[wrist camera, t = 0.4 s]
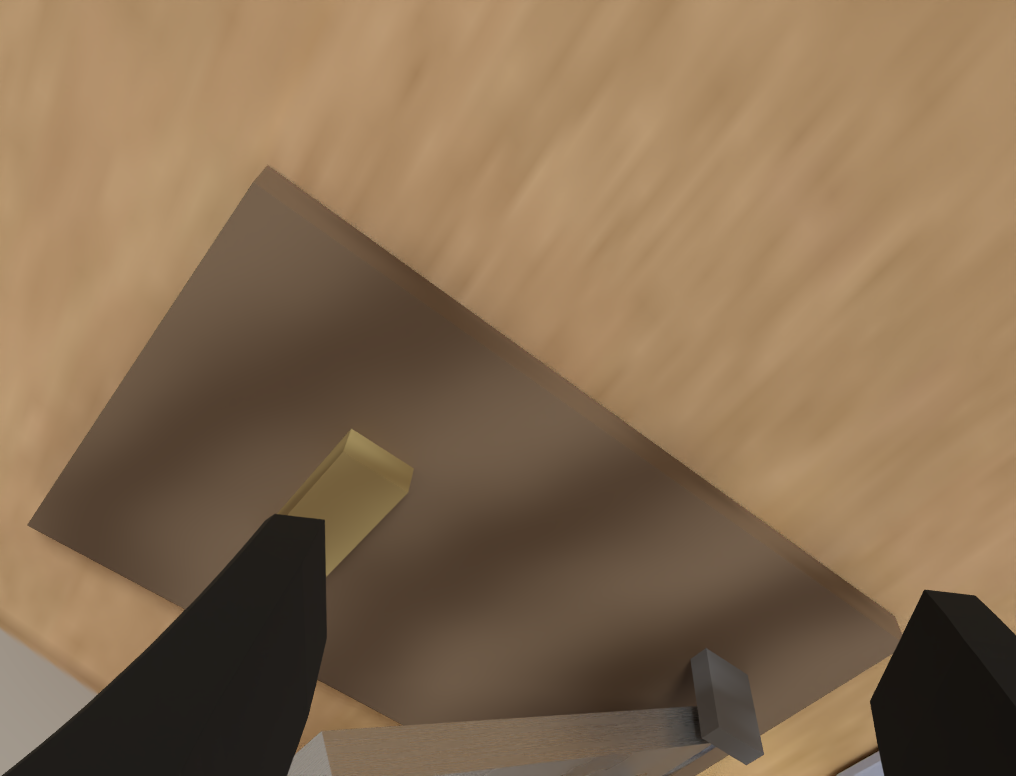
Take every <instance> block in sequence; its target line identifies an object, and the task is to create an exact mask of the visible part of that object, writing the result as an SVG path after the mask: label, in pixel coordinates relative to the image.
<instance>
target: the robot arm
mask: <svg viewBox="0 0 1016 776" xmlns="http://www.w3.org/2000/svg"><path fill="white" fill-rule="evenodd" d="M326 640H327V610H326V552H325V520H324V519H315V518H307V517H298V516H289V515H281V514H274V515H272V516H271V517H269V518H268V519H266V520H265V521H264V522H263V524H262V525H261V526H260V527H259V528H258V530H257V531H256V532H255V533H254V534H253V536H252V537H251V538H250V539H249V540H248V541H247V543H246V544H245V545H244V546H243V547H242V548H241V550H240V551H239V552H238V553H237V554H236V555H235V556H234V558H233V559H232V560H231V561H230V562H229V563H228V564H227V565H226V567H225V568H224V569H223V570H222V571H221V572H220V573H219V574H218V575H217V576H216V578H215V579H214V580H213V581H212V582H211V583H210V584H209V585H208V586H207V587H206V588H205V590H204V591H203V592H202V593H201V594H200V595H199V596H198V597H197V598H196V599H195V600H194V601H193V602H192V603H191V604H190V605H189V606H188V607H187V608H186V609H185V610H184V611H183V612H182V614H181V615H180V616H179V617H178V618H177V619H176V620H175V621H174V622H173V623H172V624H171V625H170V626H169V627H168V628H167V629H166V630H165V631H164V632H163V633H162V634H161V635H160V636H159V637H158V638H157V639H156V640H155V641H154V642H153V643H152V644H151V645H150V646H149V647H148V648H147V649H146V650H145V651H144V652H143V653H142V654H141V655H140V656H139V657H138V658H137V659H135V660H134V661H133V662H132V663H131V664H130V665H129V666H128V667H127V668H126V669H125V670H124V671H123V672H122V673H120V674H119V675H118V676H117V677H116V678H115V679H114V680H113V681H112V682H111V683H110V684H109V685H108V686H106V687H105V688H104V689H103V690H102V691H101V692H100V693H99V694H98V695H97V696H96V697H95V698H94V699H93V700H91V701H90V702H89V703H88V704H87V705H86V706H85V707H84V708H83V709H81V710H80V711H79V712H78V713H77V714H76V715H75V716H73V717H72V718H71V719H70V720H69V721H68V722H66V723H65V724H64V725H63V726H62V727H61V728H59V729H58V730H57V731H56V732H55V733H54V734H52V735H51V736H50V737H49V738H48V739H46V740H45V741H44V742H43V743H42V744H41V745H39V746H38V747H37V748H36V749H34V750H33V751H32V752H31V753H29V754H28V755H27V756H26V757H24V758H23V759H22V760H21V761H19V762H18V763H17V764H16V765H15V766H13V767H12V768H11V769H9V770H8V771H7V772H6V773H5V774H3V775H2V776H287V775H288V772H289V769H290V766H291V764H292V761H293V758H294V755H295V752H296V750H297V747H298V744H299V741H300V738H301V736H302V733H303V730H304V727H305V724H306V721H307V718H308V715H309V711H310V707H311V703H312V699H313V695H314V691H315V687H316V683H317V678H318V674H319V670H320V666H321V661H322V657H323V653H324V648H325V644H326ZM870 704H871V710H872V715H873V721H874V727H875V732H876V738H877V744H878V749H879V751H878V752H876V753H874V754H872V755H870V756H869V757H867V758H865V759H863V760H862V761H860V762H858V763H856V764H854V765H853V766H851V767H849V768H847V769H846V770H844V771H842V772H840V773H839V774H837V775H836V776H1016V635H1015V634H1014V633H1013V632H1012V631H1011V630H1010V629H1009V628H1008V627H1007V626H1006V625H1005V624H1004V623H1003V622H1002V621H1001V620H1000V619H999V618H998V617H997V616H996V615H995V614H994V613H993V612H992V611H991V610H990V609H989V608H988V607H987V606H986V605H985V604H984V603H983V602H982V601H981V600H979V599H978V598H977V597H976V596H974V595H966V594H957V593H949V592H940V591H932V590H924V591H923V593H922V596H921V598H920V600H919V602H918V604H917V606H916V608H915V610H914V612H913V614H912V616H911V618H910V620H909V622H908V624H907V626H906V628H905V630H904V633H903V635H902V637H901V639H900V641H899V643H898V645H897V647H896V649H895V651H894V653H893V655H892V657H891V659H890V661H889V663H888V665H887V667H886V670H885V672H884V674H883V676H882V678H881V680H880V682H879V684H878V686H877V688H876V690H875V692H874V694H873V696H872V698H871V700H870Z"/></svg>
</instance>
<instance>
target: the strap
mask: <svg viewBox="0 0 1016 776" xmlns="http://www.w3.org/2000/svg"><path fill="white" fill-rule="evenodd" d="M714 748H716V747H715V746H714V745H712V744H710V743H709V742H707V741H705V740H704V739H702V738H701V731H700V723H699V716H698V709H697V706H691V707H676V708H661V709H646V710H631V711H616V712H601V713H586V714H571V715H556V716H541V717H526V718H511V719H496V720H481V721H465V722H450V723H435V724H420V725H405V726H390V727H375V728H360V729H345V730H330V731H321V732H320V733H319V734H318V735H317V736H316V737H314V738H313V739H312V740H311V741H310V742H309V743H308V744H307V745H305V746H304V747H303V748H302V749H301V750H300V751H299V752H297V753H296V754H295V755H294V758H293V761H292V764H291V766H290V769H289V772H288V775H287V776H671V775H673V774H674V773H676V772H678V771H679V770H681V769H682V768H684V767H686V766H687V765H689V764H690V763H692V762H693V761H695V760H697V759H698V758H700V757H701V756H703V755H705V754H706V753H708V752H709V751H711V750H713V749H714Z"/></svg>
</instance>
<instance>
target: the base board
mask: <svg viewBox="0 0 1016 776" xmlns="http://www.w3.org/2000/svg"><path fill="white" fill-rule="evenodd" d="M274 514H281V515H289V516H298V517H307V518H315V519H324V520H325V552H326V610H327V640H326V644H325V648H324V653H323V657H322V661H321V666H320V670H319V674H318V678H317V680H319V681H321V682H323V683H325V684H327V685H329V686H330V687H332V688H334V689H336V690H338V691H340V692H342V693H344V694H345V695H347V696H349V697H351V698H353V699H355V700H357V701H359V702H360V703H362V704H364V705H366V706H368V707H370V708H372V709H374V710H376V711H377V712H379V713H381V714H383V715H385V716H387V717H389V718H391V719H392V720H394V721H396V722H398V723H400V724H402V725H404V726H405V725H420V724H435V723H450V722H465V721H481V720H496V719H511V718H526V717H541V716H556V715H571V714H586V713H601V712H616V711H631V710H646V709H661V708H676V707H691V706H697V709H698V716H699V723H700V731H701V738H702V739H704V740H705V741H707V742H709V743H710V744H712V745H714V746H715V747H716V748H714V749H713V750H711V751H709V752H708V753H706V754H705V755H703V756H701V757H700V758H698V759H697V760H695V761H693V762H692V763H690V764H689V765H687V766H686V767H684V768H682V769H681V770H679V771H678V772H676V773H674V774H673V775H671V776H696V775H697V774H699V773H701V772H702V771H704V770H705V769H707V768H709V767H710V766H712V765H713V764H715V763H717V762H718V761H720V760H722V759H723V758H725V757H726V756H728V755H730V756H732V757H734V758H735V759H737V760H739V761H740V762H742V763H744V764H745V765H748V764H749V763H751V762H752V761H754V760H756V759H757V758H759V757H761V756H762V755H764V752H763V747H762V742H761V737H760V735H762V734H764V733H765V732H767V731H768V730H770V729H772V728H773V727H775V726H776V725H778V724H780V723H781V722H783V721H785V720H786V719H788V718H789V717H791V716H793V715H794V714H796V713H797V712H799V711H801V710H802V709H804V708H806V707H807V706H809V705H810V704H812V703H814V702H815V701H817V700H818V699H820V698H822V697H823V696H825V695H827V694H828V693H830V692H831V691H833V690H835V689H836V688H838V687H839V686H841V685H843V684H844V683H846V682H848V681H849V680H851V679H852V678H854V677H856V676H857V675H859V674H860V673H862V672H864V671H865V670H867V669H869V668H870V667H872V666H873V665H875V664H877V663H878V662H880V661H881V660H883V659H885V658H886V657H888V656H890V655H891V654H893V653H894V651H895V649H896V647H897V645H898V643H899V641H900V639H901V637H902V633H901V631H900V628H899V626H898V623H897V621H896V618H895V616H893V615H892V614H890V613H889V612H888V611H886V610H885V609H884V608H882V607H881V606H879V605H878V604H877V603H875V602H874V601H872V600H871V599H870V598H868V597H867V596H865V595H864V594H863V593H861V592H860V591H858V590H857V589H856V588H854V587H853V586H852V585H850V584H849V583H847V582H846V581H845V580H843V579H842V578H840V577H839V576H838V575H836V574H835V573H833V572H832V571H831V570H829V569H828V568H827V567H825V566H824V565H822V564H821V563H820V562H818V561H817V560H815V559H814V558H813V557H811V556H810V555H808V554H807V553H806V552H804V551H803V550H802V549H800V548H799V547H797V546H796V545H795V544H793V543H792V542H790V541H789V540H788V539H786V538H785V537H783V536H782V535H781V534H779V533H778V532H776V531H775V530H774V529H772V528H771V527H770V526H768V525H767V524H765V523H764V522H763V521H761V520H760V519H758V518H757V517H756V516H754V515H753V514H751V513H750V512H749V511H747V510H746V509H745V508H743V507H742V506H740V505H739V504H738V503H736V502H735V501H733V500H732V499H731V498H729V497H728V496H726V495H725V494H724V493H722V492H721V491H719V490H718V489H717V488H715V487H714V486H713V485H711V484H710V483H708V482H707V481H706V480H704V479H703V478H701V477H700V476H699V475H697V474H696V473H694V472H693V471H692V470H690V469H689V468H688V467H686V466H685V465H683V464H682V463H681V462H679V461H678V460H676V459H675V458H674V457H672V456H671V455H669V454H668V453H667V452H665V451H664V450H662V449H661V448H660V447H658V446H657V445H656V444H654V443H653V442H651V441H650V440H649V439H647V438H646V437H644V436H643V435H642V434H640V433H639V432H637V431H636V430H635V429H633V428H632V427H631V426H629V425H628V424H626V423H625V422H624V421H622V420H621V419H619V418H618V417H617V416H615V415H614V414H612V413H611V412H610V411H608V410H607V409H605V408H604V407H603V406H601V405H600V404H599V403H597V402H596V401H594V400H593V399H592V398H590V397H589V396H587V395H586V394H585V393H583V392H582V391H580V390H579V389H578V388H576V387H575V386H574V385H572V384H571V383H569V382H568V381H567V380H565V379H564V378H562V377H561V376H560V375H558V374H557V373H555V372H554V371H553V370H551V369H550V368H549V367H547V366H546V365H544V364H543V363H542V362H540V361H539V360H537V359H536V358H535V357H533V356H532V355H530V354H529V353H528V352H526V351H525V350H523V349H522V348H521V347H519V346H518V345H517V344H515V343H514V342H512V341H511V340H510V339H508V338H507V337H505V336H504V335H503V334H501V333H500V332H498V331H497V330H496V329H494V328H493V327H492V326H490V325H489V324H487V323H486V322H485V321H483V320H482V319H480V318H479V317H478V316H476V315H475V314H473V313H472V312H471V311H469V310H468V309H466V308H465V307H464V306H462V305H461V304H460V303H458V302H457V301H455V300H454V299H453V298H451V297H450V296H448V295H447V294H446V293H444V292H443V291H441V290H440V289H439V288H437V287H436V286H435V285H433V284H432V283H430V282H429V281H428V280H426V279H425V278H423V277H422V276H421V275H419V274H418V273H416V272H415V271H414V270H412V269H411V268H409V267H408V266H407V265H405V264H404V263H403V262H401V261H400V260H398V259H397V258H396V257H394V256H393V255H391V254H390V253H389V252H387V251H386V250H384V249H383V248H382V247H380V246H379V245H378V244H376V243H375V242H373V241H372V240H371V239H369V238H368V237H366V236H365V235H364V234H362V233H361V232H359V231H358V230H357V229H355V228H354V227H352V226H351V225H350V224H348V223H347V222H346V221H344V220H343V219H341V218H340V217H339V216H337V215H336V214H334V213H333V212H332V211H330V210H329V209H327V208H326V207H325V206H323V205H322V204H321V203H319V202H318V201H316V200H315V199H314V198H312V197H311V196H309V195H308V194H307V193H305V192H304V191H302V190H301V189H300V188H298V187H297V186H296V185H294V184H293V183H291V182H290V181H289V180H287V179H286V178H284V177H283V176H282V175H280V174H279V173H277V172H276V171H275V170H273V169H272V168H270V167H269V166H268V165H267V167H266V168H265V169H264V170H263V171H262V172H261V174H260V175H259V176H258V177H257V178H256V180H255V181H254V182H253V183H252V185H251V186H250V188H249V189H248V191H247V192H246V194H245V195H244V197H243V198H242V200H241V202H240V203H239V205H238V206H237V208H236V209H235V211H234V212H233V214H232V215H231V217H230V218H229V220H228V221H227V223H226V224H225V226H224V227H223V229H222V230H221V232H220V233H219V235H218V236H217V238H216V239H215V241H214V242H213V244H212V246H211V247H210V249H209V250H208V252H207V253H206V255H205V256H204V258H203V259H202V261H201V262H200V264H199V265H198V267H197V268H196V270H195V271H194V273H193V274H192V276H191V277H190V279H189V280H188V282H187V283H186V285H185V286H184V288H183V290H182V291H181V293H180V294H179V296H178V297H177V299H176V300H175V302H174V303H173V305H172V306H171V308H170V309H169V311H168V312H167V314H166V315H165V317H164V318H163V320H162V321H161V323H160V324H159V326H158V327H157V329H156V330H155V332H154V333H153V335H152V337H151V338H150V340H149V341H148V343H147V344H146V346H145V347H144V349H143V350H142V352H141V353H140V355H139V356H138V358H137V359H136V361H135V362H134V364H133V365H132V367H131V368H130V370H129V371H128V373H127V374H126V376H125V377H124V379H123V381H122V382H121V384H120V385H119V387H118V388H117V390H116V391H115V393H114V394H113V396H112V397H111V399H110V400H109V402H108V403H107V405H106V406H105V408H104V409H103V411H102V412H101V414H100V415H99V417H98V418H97V420H96V421H95V423H94V425H93V426H92V428H91V429H90V431H89V432H88V434H87V435H86V437H85V438H84V440H83V441H82V443H81V444H80V446H79V447H78V449H77V450H76V452H75V453H74V455H73V456H72V458H71V459H70V461H69V462H68V464H67V465H66V467H65V469H64V470H63V472H62V473H61V475H60V476H59V478H58V479H57V481H56V482H55V484H54V485H53V487H52V488H51V490H50V491H49V493H48V494H47V496H46V497H45V499H44V500H43V502H42V503H41V505H40V506H39V508H38V509H37V511H36V512H35V514H34V516H33V517H32V519H31V520H30V522H29V523H28V526H29V527H31V528H33V529H35V530H37V531H39V532H41V533H43V534H44V535H46V536H48V537H50V538H52V539H54V540H56V541H58V542H59V543H61V544H63V545H65V546H67V547H69V548H71V549H73V550H75V551H76V552H78V553H80V554H82V555H84V556H86V557H88V558H90V559H91V560H93V561H95V562H97V563H99V564H101V565H103V566H105V567H107V568H108V569H110V570H112V571H114V572H116V573H118V574H120V575H122V576H123V577H125V578H127V579H129V580H131V581H133V582H135V583H137V584H139V585H140V586H142V587H144V588H146V589H148V590H150V591H152V592H154V593H155V594H157V595H159V596H161V597H163V598H165V599H167V600H169V601H170V602H172V603H174V604H176V605H178V606H180V607H182V608H184V609H186V608H187V607H188V606H189V605H190V604H191V603H192V602H193V601H194V600H195V599H196V598H197V597H198V596H199V595H200V594H201V593H202V592H203V591H204V590H205V588H206V587H207V586H208V585H209V584H210V583H211V582H212V581H213V580H214V579H215V578H216V576H217V575H218V574H219V573H220V572H221V571H222V570H223V569H224V568H225V567H226V565H227V564H228V563H229V562H230V561H231V560H232V559H233V558H234V556H235V555H236V554H237V553H238V552H239V551H240V550H241V548H242V547H243V546H244V545H245V544H246V543H247V541H248V540H249V539H250V538H251V537H252V536H253V534H254V533H255V532H256V531H257V530H258V528H259V527H260V526H261V525H262V524H263V522H264V521H265V520H266V519H268V518H269V517H271V516H272V515H274Z"/></svg>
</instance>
